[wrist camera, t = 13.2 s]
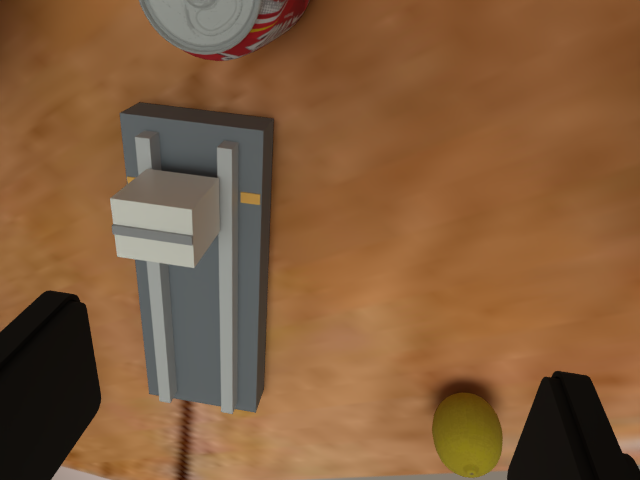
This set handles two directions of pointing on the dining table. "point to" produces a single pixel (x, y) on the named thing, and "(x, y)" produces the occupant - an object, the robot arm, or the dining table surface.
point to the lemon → (467, 435)
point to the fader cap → (166, 217)
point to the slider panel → (207, 257)
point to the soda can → (222, 24)
